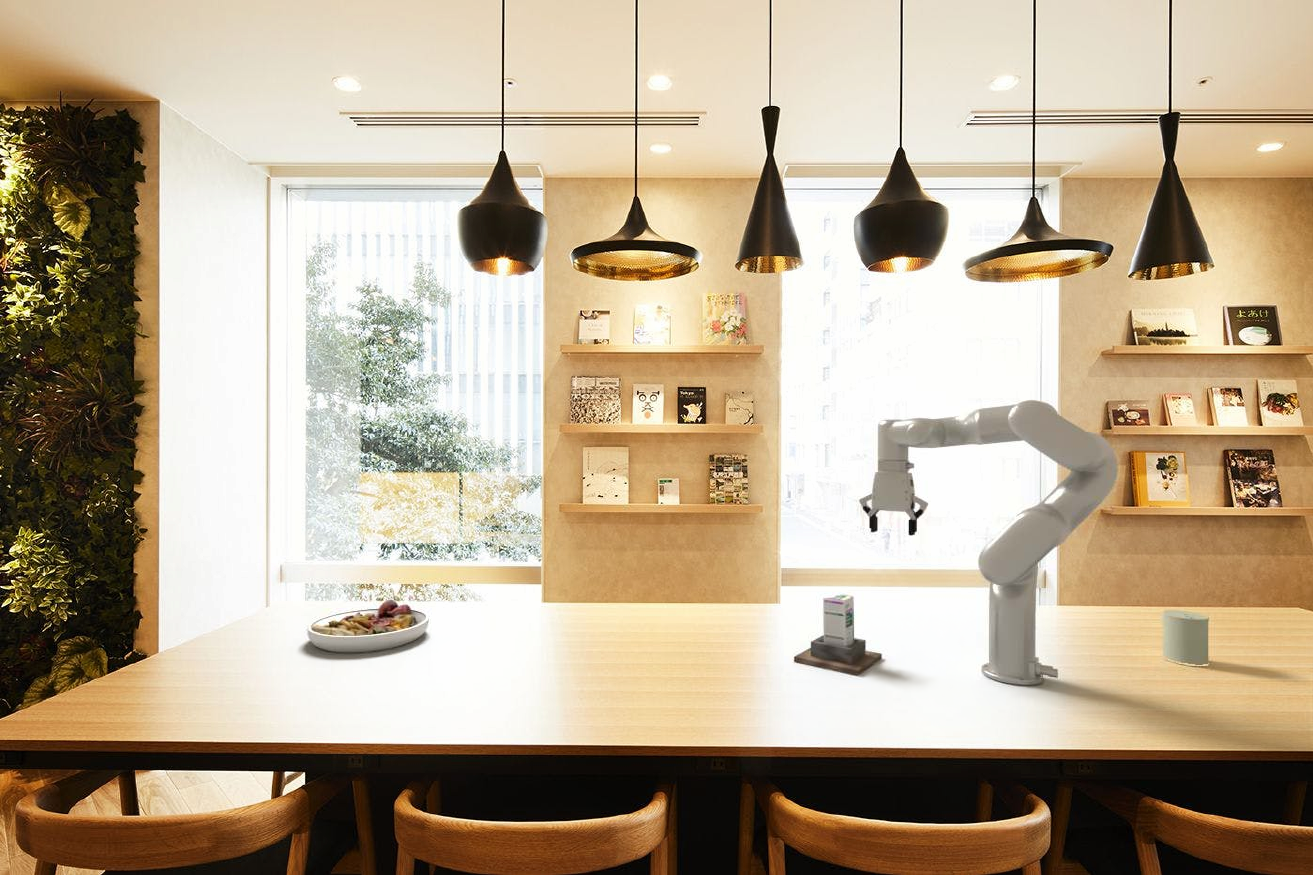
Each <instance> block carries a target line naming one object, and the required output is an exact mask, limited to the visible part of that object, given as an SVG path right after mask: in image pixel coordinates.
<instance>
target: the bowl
mask: <svg viewBox="0 0 1313 875" xmlns="http://www.w3.org/2000/svg"><path fill="white" fill-rule="evenodd" d="M429 622H430V617H429V615H428V613H426V612H425V611H421V610H419V609H413V608H411V606H409V604H406V603H405V604H401V605H399V604H398V603H397V602H396V601H395V600H393V599H388V600H385V601H384V602H383V603H382V604H380V605H379V607H374V608H373V607H372V608H362V609H354V610H347V611H342V612H337V613H334V614H329V615H326V616H325V615H324V616H323V617H320V618H317V619H316V620H315V619H314V620H313V621H311V622H310V623H309V624H308V626H307V629H306V630H307V631H306V632H307V637H308V639H309V640H310V642H311V643H312V644H313V645H314V646H315V647H317V648H319V649H321V650H324V651H329V652H334V653H335V652H336V653H347V654H348V653H351V654H353V653H367V652H368V653H369V652H370V653H371V652H377V651H384V650H388V649H389V650H390V649H393V648H397V647H401V646H404V645H406V644H409V643H412V642H414V641H415V640H417V639H419V638H420V637H422V635H423V634H424V633H425V632H426V631H427V629H428V626H429Z"/></svg>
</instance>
